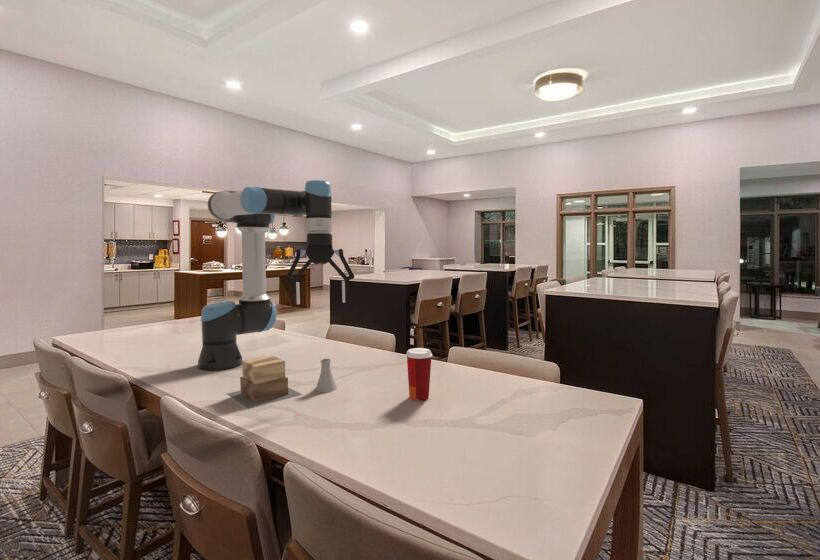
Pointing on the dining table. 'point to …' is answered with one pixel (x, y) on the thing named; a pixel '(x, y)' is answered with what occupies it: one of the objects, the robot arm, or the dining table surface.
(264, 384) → the walnut block
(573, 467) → the dining table surface
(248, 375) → the oak block
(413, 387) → the paper cup
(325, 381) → the flask
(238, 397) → the grey mat
